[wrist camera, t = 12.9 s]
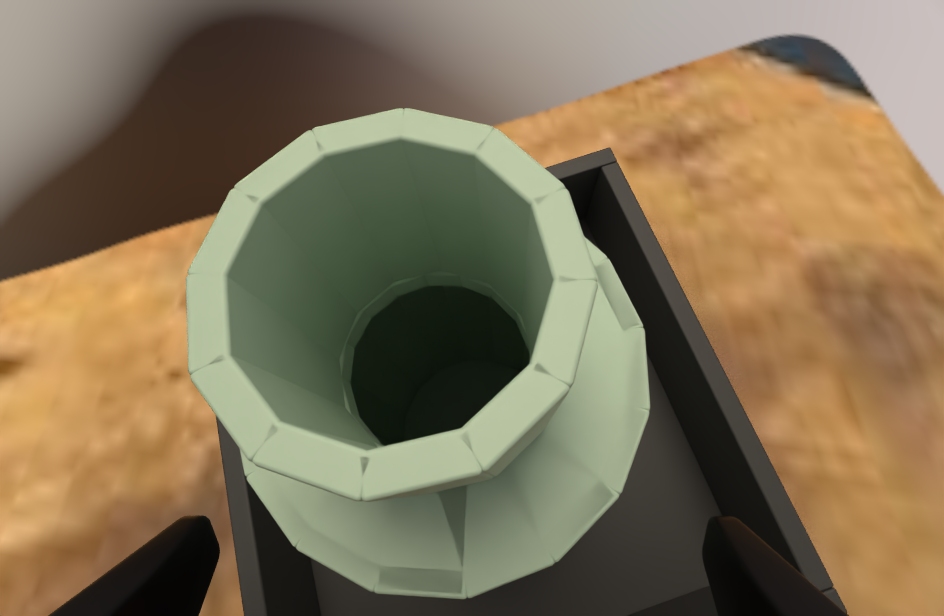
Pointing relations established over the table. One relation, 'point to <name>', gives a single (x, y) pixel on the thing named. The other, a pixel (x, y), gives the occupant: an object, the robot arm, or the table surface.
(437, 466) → the bottle
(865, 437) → the table surface
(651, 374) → the bin
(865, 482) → the table surface
